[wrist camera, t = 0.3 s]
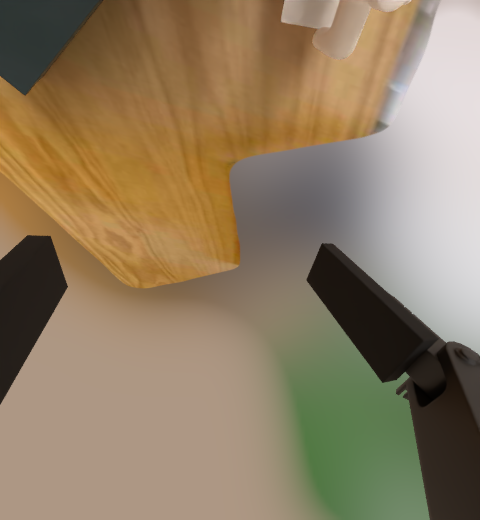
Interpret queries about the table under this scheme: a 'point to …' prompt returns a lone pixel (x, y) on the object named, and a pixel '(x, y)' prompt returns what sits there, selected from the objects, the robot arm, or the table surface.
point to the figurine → (335, 21)
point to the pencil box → (37, 36)
